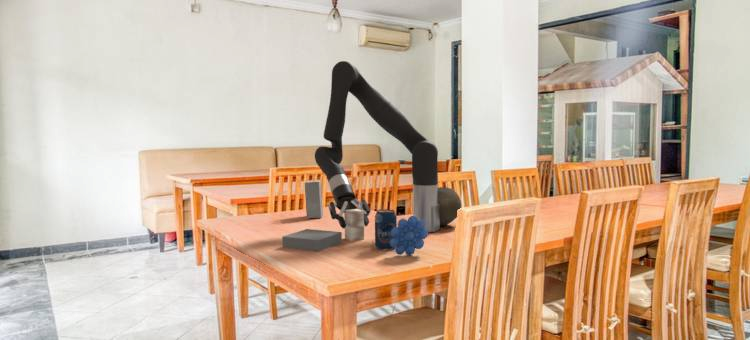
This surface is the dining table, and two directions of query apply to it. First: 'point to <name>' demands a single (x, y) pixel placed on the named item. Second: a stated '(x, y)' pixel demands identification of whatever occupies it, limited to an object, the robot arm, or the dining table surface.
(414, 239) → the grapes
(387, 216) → the soda can
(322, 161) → the robot arm
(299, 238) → the slate base
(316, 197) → the grey rectangular block
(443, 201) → the dark grey ball
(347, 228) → the grey piece
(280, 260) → the dining table surface
